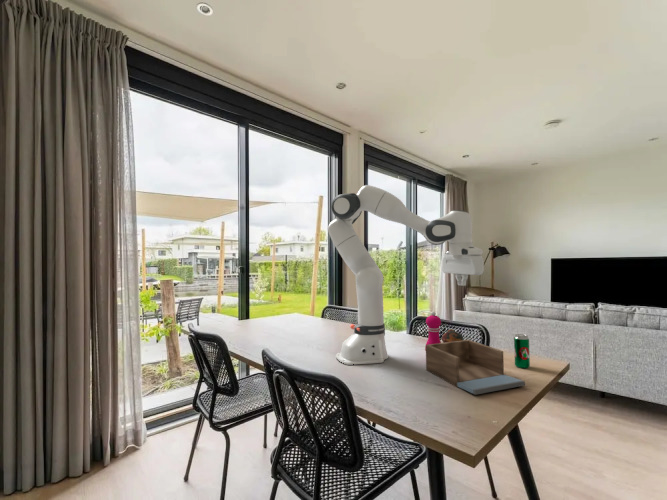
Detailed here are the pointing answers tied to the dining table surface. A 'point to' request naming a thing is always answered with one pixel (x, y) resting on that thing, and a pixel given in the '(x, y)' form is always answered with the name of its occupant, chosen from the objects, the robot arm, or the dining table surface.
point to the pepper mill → (433, 329)
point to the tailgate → (490, 384)
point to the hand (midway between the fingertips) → (461, 285)
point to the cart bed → (463, 361)
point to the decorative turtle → (451, 336)
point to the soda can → (521, 351)
